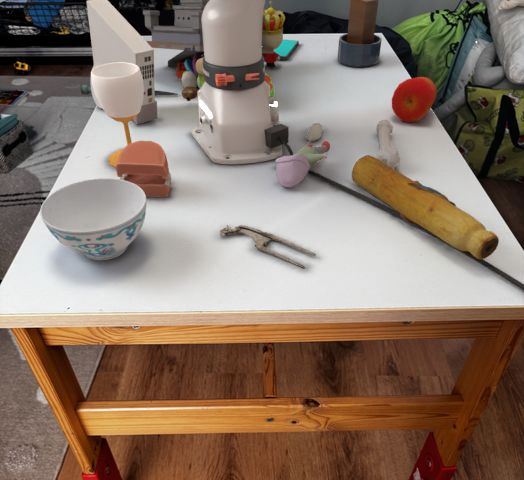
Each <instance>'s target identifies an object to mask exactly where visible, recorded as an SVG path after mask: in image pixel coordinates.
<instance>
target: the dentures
mask: <svg viewBox="0 0 524 480" xmlns="http://www.w3.org/2000/svg"><path fill="white" fill-rule="evenodd" d="M122 149H123V150H122V151H121V153H120V155H119V157H118V161H117V167H115V168H116V169H115V170H116V177H117V178H119V179H120V180H125V181H128V182H131V183H134V184H136V185H137V186H139V187H140V188H141V189H142V190H143V191H144V193H145V195H146V197H151V198H152V197H153V198H154V197H155V198H167V197H169V194H170V190H171V186H172V175H171V173H170V168H169V162H168V158H167V155H166V152H165V150H164V148H163V146H161V145H160V144H159V143H157V142H155V141H152V140H137V141H134V142H132V143H130V144H129V145H128V144H126V146H125V147H124V148H122Z"/></svg>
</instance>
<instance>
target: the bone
mask: <svg viewBox="0 0 524 480" xmlns="http://www.w3.org/2000/svg"><path fill="white" fill-rule="evenodd" d="M375 131H376V135H377V137H378V145H379V149H380V150H379V151H378V152H377V153H376V154H373V155H371V156H372V157H375V158H377V159H379V160H381V161H382V162H384V163H385V164H386V165H388V166H389V167H391V168H393V169H394V170H395V168H396V167H397V166H398V165H399V164H400V160H401V158H400V155H399V153H398V149H397V148H396V147H394V146H392V142H391V134H392V132H393V124H392V123H391V122H390V120H388V119H381V120H379V121H378V122H377V123H376V126H375Z"/></svg>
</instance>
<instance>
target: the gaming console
mask: <svg viewBox="0 0 524 480" xmlns="http://www.w3.org/2000/svg"><path fill="white" fill-rule="evenodd" d="M86 8H87V9H86V10H87V18H88V25H89V34H90V40H91V41H90V44H91V52H92V61H93V66H92V68H91V71H92V70H93V69H94V68H95V67H97V66H100V65H103V64H108V63H114V62H125V63H132V64H135V65H137V66H138V67H139V68H140V71H141V74H142V77H143V86H144V95H143V103H142V106H141V110H140V112H139V113H138V115H137V116H136V117H135V118H134V119H133V120H132V122H134V123H135V124H136V125H139V124H143V123H146V122H151V121H154V120H157V119H158V102H157V100H156V96H155V91H156V89H155V48H152V47H151V46H150V45H149V44H148V43H147V42H146V41H147V40H145V38H144V37H143V36H142V35H141V34H140V33H139V32H138V31H137V30H136V29H135V28H134V27H133V26H132V25H131V24H130V23H129V22H128V20H127V19H126V18H125V17H124V16H123V15H122V14H121V13H120V12H119V10H117V8H115V6H114V5H112V4H111V2H110V1H109V0H86ZM89 80H90V87H91V92H92V93H91V96H92V99H93V102H94V103H95V105H96V106H97V107H98V109H102V107H101V106H100V104H99V102H98V100H97V98H96V96H95V93H94V89H93V86H92V81H91V79H89Z"/></svg>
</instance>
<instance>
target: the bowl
mask: <svg viewBox="0 0 524 480" xmlns="http://www.w3.org/2000/svg"><path fill="white" fill-rule="evenodd" d="M382 40H383V38H382V37H381V36H380V35H377V34H374V40H373V44H364V45H362V44H351V43H347V33H344V34H342V35H340V36H339V38H338V45H337V46H338V47H337V61H338V62H339V63H340V64H341V65H344V66H347V67H350V68H367V67H371V66H374V65H376V64H377V63H379V61H380V55H381V47H382Z"/></svg>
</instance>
